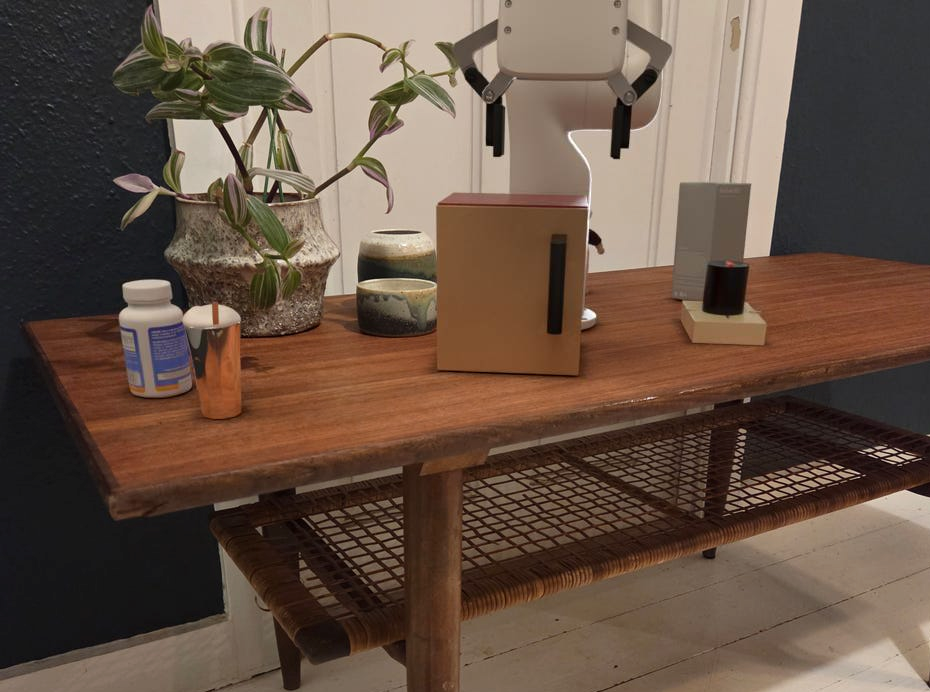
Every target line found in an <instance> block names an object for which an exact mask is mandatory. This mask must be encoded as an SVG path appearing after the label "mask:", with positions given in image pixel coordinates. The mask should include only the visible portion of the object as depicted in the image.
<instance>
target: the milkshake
mask: <svg viewBox="0 0 930 692" xmlns="http://www.w3.org/2000/svg"><path fill="white" fill-rule="evenodd" d="M182 322H183V326H184V330H185V335H186V341H187V349H188V353H189V357H190V360H191V364H192V370H193V375H194V381H195V386H196V391H197V396H198V401H199V406H200V412H201V415H202V416H203V418H207V419H211V420H225V419H229V418H234V417H237V416H238V415H240V414H241V413H242V369H241V368H242V367H241V366H242V365H241V344H242V343H241V334H242V331H241V329H242V319H241V316H240V314H239V313H238V311H236V310H235V309H233V308H232V307H230V306H226V305H223V304H219V302H218V301H212V302H211V304H206V305H195V306H192V307H191V308H190V309H188V310H187V311H186V312H185V313H184V314H183V319H182Z"/></svg>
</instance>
